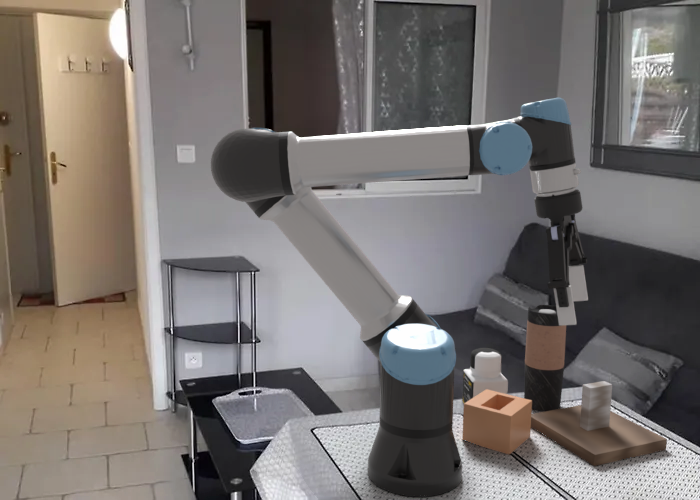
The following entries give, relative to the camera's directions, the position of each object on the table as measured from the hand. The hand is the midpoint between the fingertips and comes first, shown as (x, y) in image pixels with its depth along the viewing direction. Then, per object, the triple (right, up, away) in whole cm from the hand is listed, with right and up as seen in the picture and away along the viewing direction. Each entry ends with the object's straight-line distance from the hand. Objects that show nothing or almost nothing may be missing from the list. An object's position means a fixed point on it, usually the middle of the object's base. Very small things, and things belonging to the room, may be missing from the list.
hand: (574, 312), depth 122 cm
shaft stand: (+6, -23, +6) cm, 25 cm away
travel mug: (0, -21, +21) cm, 30 cm away
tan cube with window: (-12, -23, +5) cm, 27 cm away
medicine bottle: (-12, -21, +19) cm, 31 cm away
